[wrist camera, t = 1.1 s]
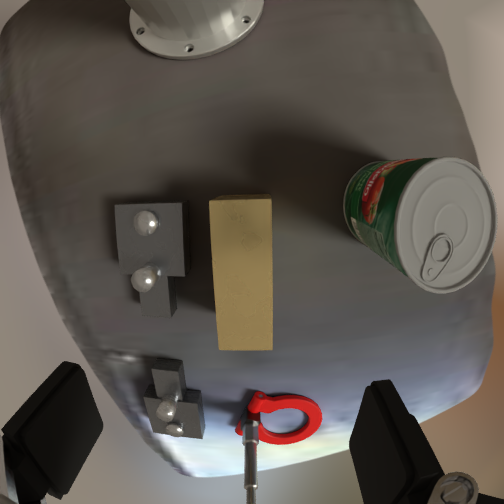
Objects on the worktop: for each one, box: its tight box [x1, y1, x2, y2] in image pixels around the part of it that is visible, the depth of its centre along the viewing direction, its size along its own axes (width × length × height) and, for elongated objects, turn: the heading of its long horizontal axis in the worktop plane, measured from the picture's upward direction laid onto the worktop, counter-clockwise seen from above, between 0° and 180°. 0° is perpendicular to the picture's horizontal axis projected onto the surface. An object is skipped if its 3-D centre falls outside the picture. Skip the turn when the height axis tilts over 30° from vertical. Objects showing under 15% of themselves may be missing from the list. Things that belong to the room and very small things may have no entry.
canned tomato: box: [343, 157, 497, 293], centre depth 19 cm, size 8×8×11 cm
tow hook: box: [235, 391, 322, 504], centre depth 25 cm, size 8×13×9 cm
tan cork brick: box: [209, 194, 273, 350], centre depth 23 cm, size 11×4×6 cm, turn 2°
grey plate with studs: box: [115, 201, 205, 439], centre depth 26 cm, size 26×6×4 cm, turn 0°
